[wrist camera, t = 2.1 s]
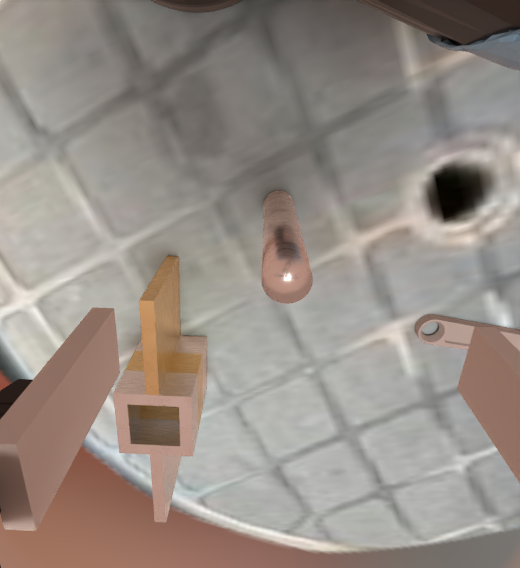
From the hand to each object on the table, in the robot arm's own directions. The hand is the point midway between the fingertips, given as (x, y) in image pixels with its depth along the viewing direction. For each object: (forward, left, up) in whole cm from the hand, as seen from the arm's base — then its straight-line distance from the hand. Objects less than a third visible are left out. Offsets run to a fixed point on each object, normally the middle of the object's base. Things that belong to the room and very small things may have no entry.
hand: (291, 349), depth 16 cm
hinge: (+16, -9, -22) cm, 28 cm away
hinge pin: (0, 0, -22) cm, 22 cm away
